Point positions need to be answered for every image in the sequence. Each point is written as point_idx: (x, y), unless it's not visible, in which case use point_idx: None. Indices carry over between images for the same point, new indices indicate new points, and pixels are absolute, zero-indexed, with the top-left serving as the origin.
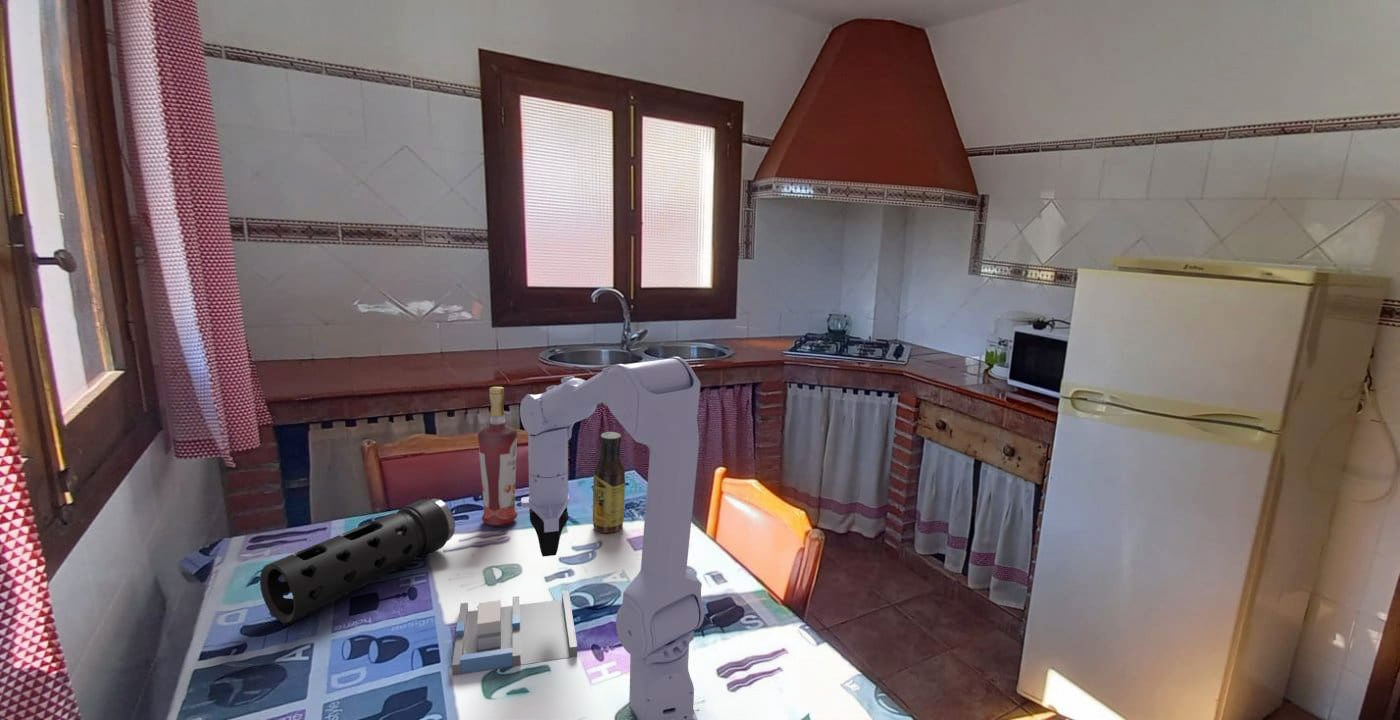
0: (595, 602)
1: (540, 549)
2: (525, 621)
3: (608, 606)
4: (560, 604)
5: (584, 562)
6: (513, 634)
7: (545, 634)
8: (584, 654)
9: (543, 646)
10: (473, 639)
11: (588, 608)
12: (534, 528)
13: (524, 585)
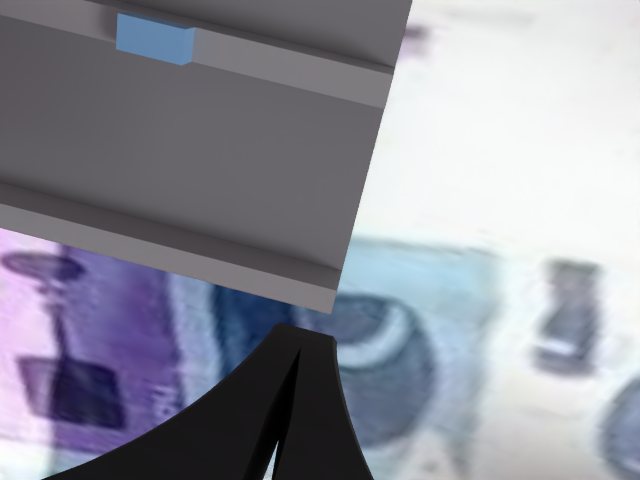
0: None
1: (265, 343)
2: (248, 91)
3: None
4: (309, 253)
5: (603, 431)
6: (84, 5)
7: (133, 141)
8: None
9: (65, 112)
10: None
11: None
12: (95, 458)
13: (583, 167)
